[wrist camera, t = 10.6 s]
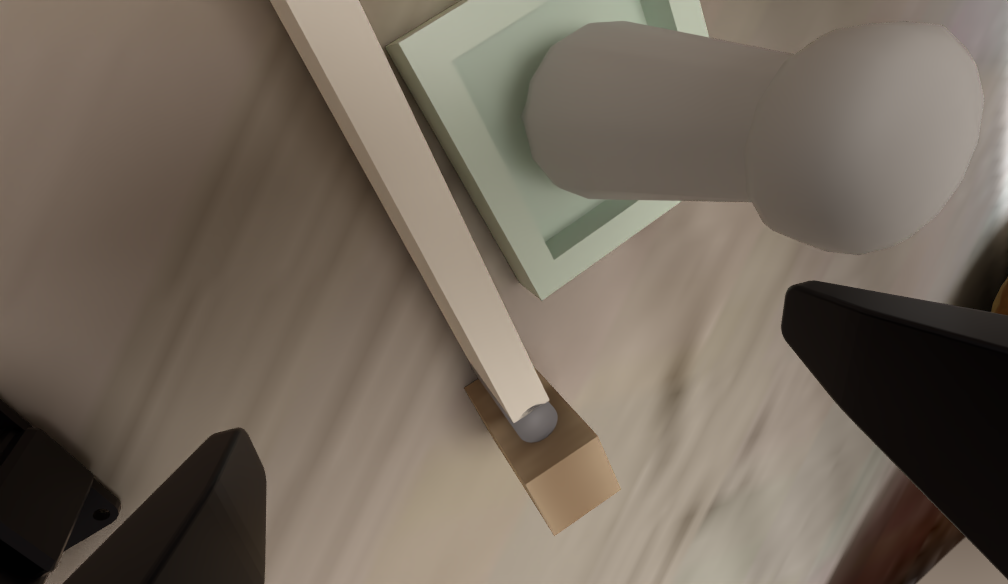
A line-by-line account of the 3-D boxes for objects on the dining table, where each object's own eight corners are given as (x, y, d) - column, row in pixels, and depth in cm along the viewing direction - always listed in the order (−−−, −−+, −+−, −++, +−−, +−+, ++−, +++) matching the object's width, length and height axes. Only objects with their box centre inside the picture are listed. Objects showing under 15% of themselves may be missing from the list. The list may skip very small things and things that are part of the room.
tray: (519, 282, 23) (541, 300, 21) (384, 46, 18) (398, 43, 16) (704, 152, 24) (741, 158, 23) (628, -102, 19) (667, -121, 17)
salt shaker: (559, -11, 19) (983, -140, 8) (659, 89, 22) (1074, 100, 11) (471, 135, 19) (747, 211, 8) (580, 213, 22) (895, 348, 11)
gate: (479, 382, 24) (526, 450, 19) (168, -180, 14) (123, -295, 10) (510, 363, 24) (563, 426, 20) (226, -201, 14) (208, -323, 10)
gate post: (489, 433, 25) (554, 536, 20) (463, 388, 24) (525, 484, 18) (543, 398, 26) (621, 489, 20) (520, 352, 24) (597, 435, 19)
